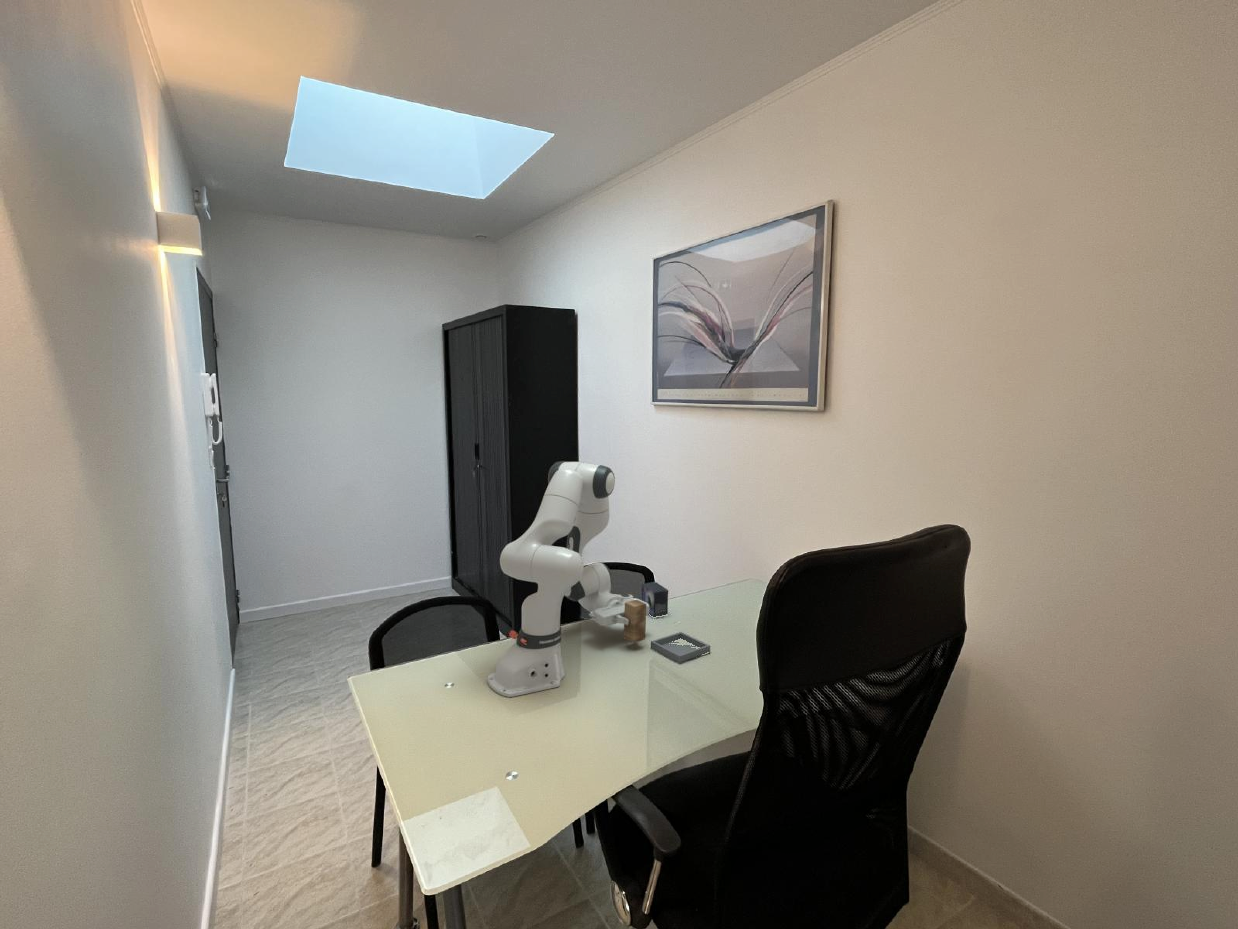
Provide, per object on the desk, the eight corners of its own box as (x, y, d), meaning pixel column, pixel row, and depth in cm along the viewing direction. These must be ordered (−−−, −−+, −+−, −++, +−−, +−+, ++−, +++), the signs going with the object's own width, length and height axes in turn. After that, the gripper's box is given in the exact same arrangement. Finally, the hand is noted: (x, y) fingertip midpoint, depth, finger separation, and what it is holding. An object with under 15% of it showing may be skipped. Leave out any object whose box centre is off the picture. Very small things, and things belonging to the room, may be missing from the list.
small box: (639, 609, 229) (640, 583, 228) (654, 607, 232) (655, 581, 231) (652, 619, 220) (653, 591, 219) (668, 616, 223) (669, 589, 221)
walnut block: (633, 643, 192) (634, 606, 190) (623, 637, 196) (624, 602, 194) (645, 639, 195) (646, 603, 193) (635, 634, 199) (636, 599, 197)
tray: (679, 664, 184) (679, 656, 184) (650, 648, 195) (650, 641, 194) (710, 653, 192) (710, 645, 192) (680, 638, 203) (681, 631, 203)
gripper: (586, 604, 198) (611, 617, 187) (634, 593, 210) (660, 604, 200) (586, 622, 199) (611, 636, 188) (633, 610, 211) (659, 623, 200)
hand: (636, 620), depth 194 cm, fingers closed on walnut block, 5 cm apart
